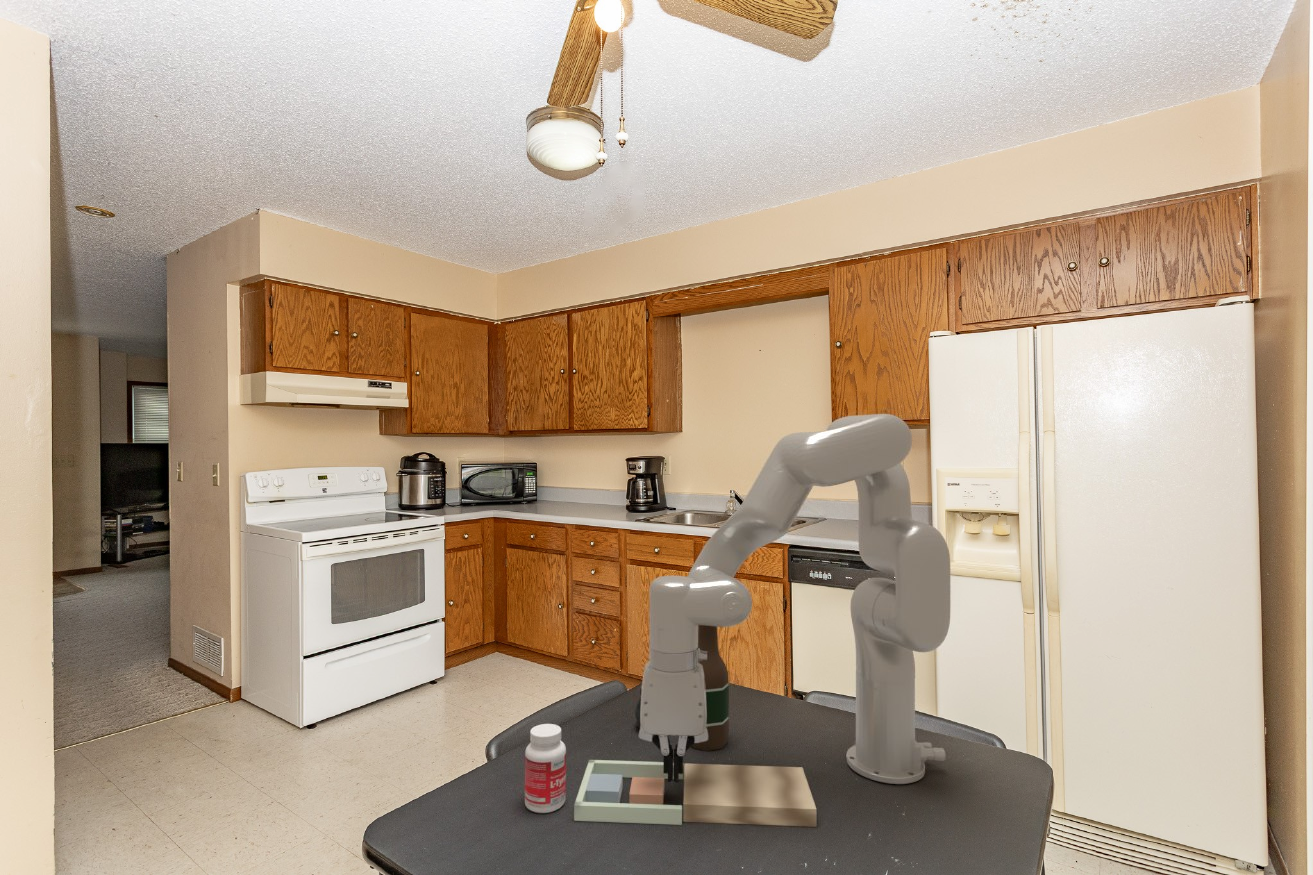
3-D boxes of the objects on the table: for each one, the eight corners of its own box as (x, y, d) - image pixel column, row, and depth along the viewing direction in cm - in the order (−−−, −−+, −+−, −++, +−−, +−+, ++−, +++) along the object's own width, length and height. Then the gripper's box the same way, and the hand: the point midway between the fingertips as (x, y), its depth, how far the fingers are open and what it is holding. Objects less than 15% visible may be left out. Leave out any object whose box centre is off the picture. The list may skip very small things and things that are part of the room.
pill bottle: (554, 817, 94) (554, 741, 94) (517, 810, 96) (517, 735, 96) (572, 795, 100) (572, 724, 100) (537, 789, 102) (537, 718, 102)
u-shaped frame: (683, 776, 106) (683, 762, 106) (681, 824, 92) (681, 809, 92) (589, 772, 107) (589, 759, 107) (574, 820, 93) (574, 805, 93)
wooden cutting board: (802, 782, 104) (802, 767, 104) (816, 826, 92) (816, 809, 92) (684, 778, 105) (684, 763, 105) (683, 821, 93) (683, 804, 93)
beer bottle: (728, 733, 122) (728, 606, 122) (728, 752, 114) (729, 616, 114) (687, 731, 123) (687, 604, 123) (684, 750, 115) (685, 615, 115)
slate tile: (591, 773, 102) (591, 789, 102) (585, 790, 97) (585, 807, 97) (622, 774, 102) (622, 790, 102) (618, 791, 97) (618, 808, 97)
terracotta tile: (664, 793, 101) (664, 777, 101) (662, 811, 96) (662, 795, 96) (632, 792, 102) (632, 776, 102) (629, 810, 97) (629, 794, 97)
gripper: (721, 651, 103) (721, 767, 102) (628, 649, 104) (627, 764, 103) (723, 667, 95) (723, 792, 95) (622, 665, 96) (622, 788, 96)
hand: (673, 777), depth 99 cm, fingers closed
